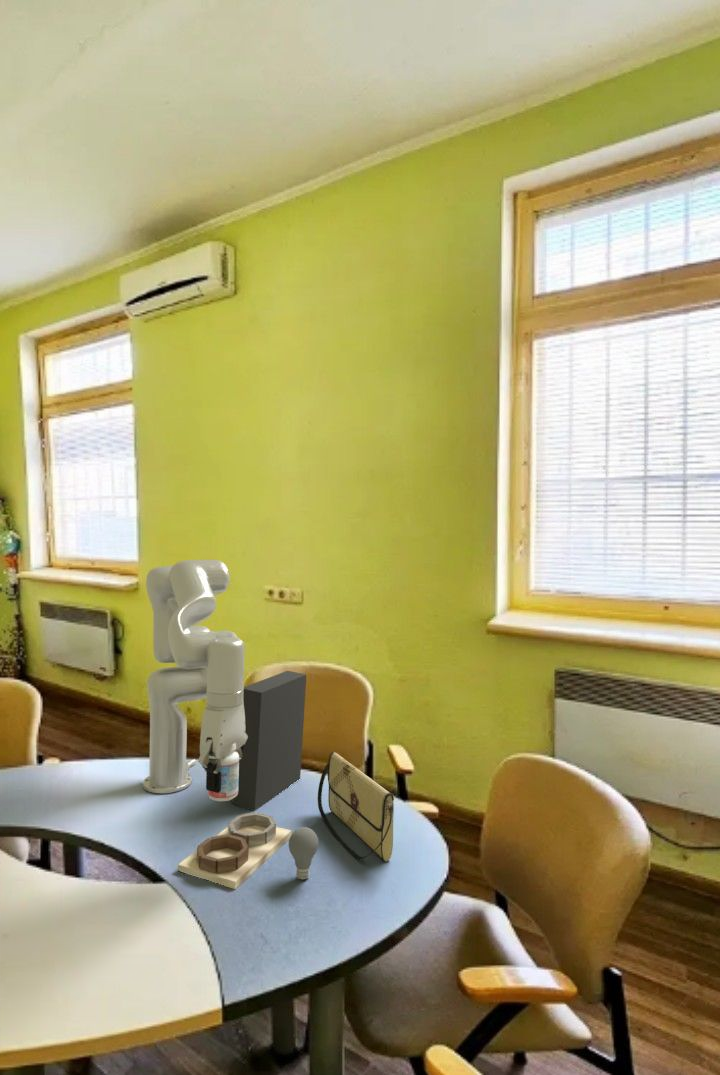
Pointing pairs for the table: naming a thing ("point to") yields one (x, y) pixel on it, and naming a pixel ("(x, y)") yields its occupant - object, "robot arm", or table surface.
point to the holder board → (236, 850)
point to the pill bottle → (227, 777)
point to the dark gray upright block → (271, 738)
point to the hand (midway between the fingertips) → (223, 783)
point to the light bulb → (303, 849)
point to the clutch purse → (359, 806)
